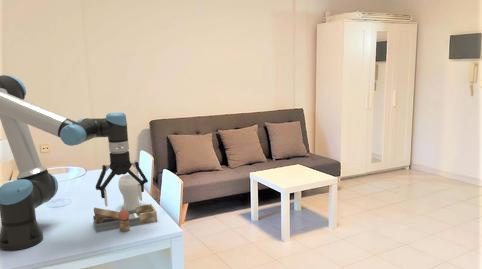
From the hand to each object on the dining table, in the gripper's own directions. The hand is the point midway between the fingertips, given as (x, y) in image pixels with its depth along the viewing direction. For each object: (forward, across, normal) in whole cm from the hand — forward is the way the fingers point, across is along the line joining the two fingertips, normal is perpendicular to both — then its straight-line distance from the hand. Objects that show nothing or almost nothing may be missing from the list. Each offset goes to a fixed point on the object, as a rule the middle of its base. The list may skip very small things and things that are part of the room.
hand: (123, 202), depth 162 cm
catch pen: (+12, +10, +9) cm, 18 cm away
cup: (+12, +6, +26) cm, 30 cm away
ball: (+5, 0, 0) cm, 5 cm away
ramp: (+10, -4, +9) cm, 14 cm away
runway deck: (+12, -2, +9) cm, 15 cm away
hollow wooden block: (+12, 0, 0) cm, 12 cm away
